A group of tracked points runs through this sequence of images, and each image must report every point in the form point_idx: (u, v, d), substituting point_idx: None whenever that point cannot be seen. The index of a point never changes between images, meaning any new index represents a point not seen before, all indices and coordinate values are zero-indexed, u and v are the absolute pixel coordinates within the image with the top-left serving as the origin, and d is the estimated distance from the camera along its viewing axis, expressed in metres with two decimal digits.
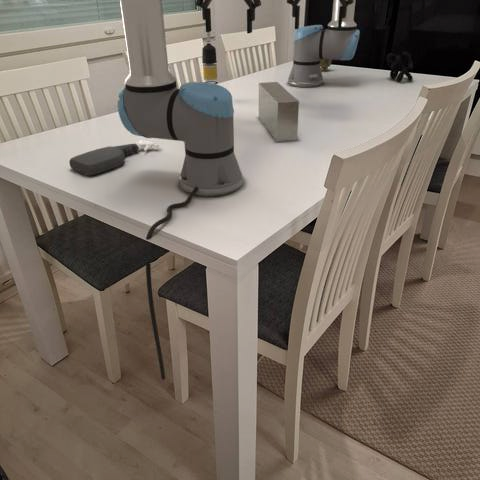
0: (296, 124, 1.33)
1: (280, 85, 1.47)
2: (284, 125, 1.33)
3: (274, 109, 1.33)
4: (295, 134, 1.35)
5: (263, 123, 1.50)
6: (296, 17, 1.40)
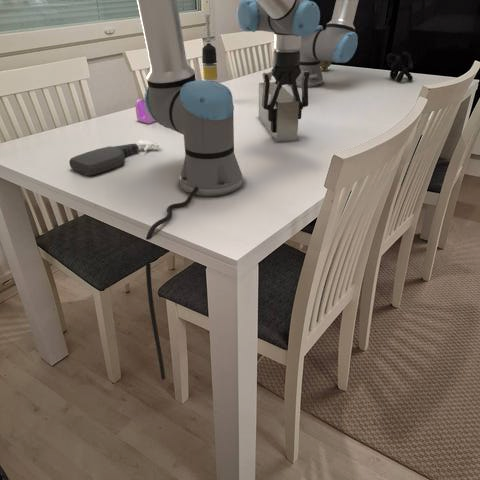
0: (296, 124, 1.33)
1: None
2: (284, 125, 1.33)
3: (274, 109, 1.33)
4: (295, 134, 1.35)
5: (263, 123, 1.50)
6: None
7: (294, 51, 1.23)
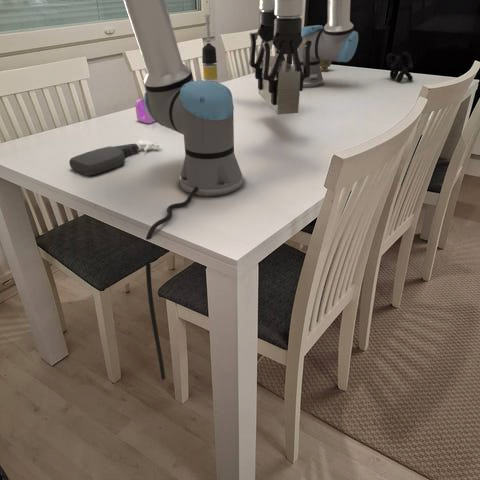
0: (297, 96, 1.29)
1: (281, 58, 1.42)
2: (285, 97, 1.28)
3: (275, 80, 1.29)
4: (296, 106, 1.30)
5: (263, 98, 1.45)
6: None
7: (295, 17, 1.18)
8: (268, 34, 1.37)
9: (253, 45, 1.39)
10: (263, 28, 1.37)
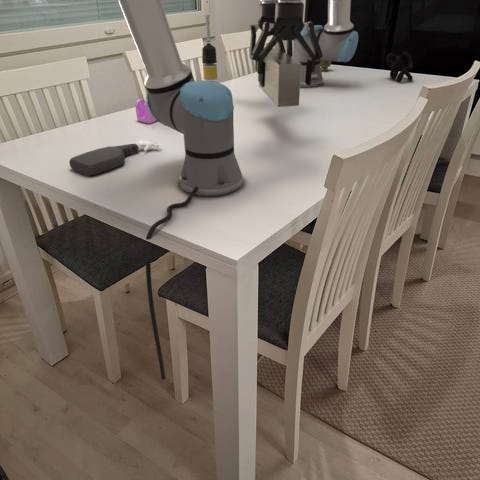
0: (298, 88, 1.28)
1: (281, 50, 1.41)
2: (285, 89, 1.27)
3: (275, 72, 1.28)
4: (297, 99, 1.29)
5: None
6: None
7: (298, 2, 1.15)
8: None
9: (253, 37, 1.38)
10: (263, 20, 1.36)
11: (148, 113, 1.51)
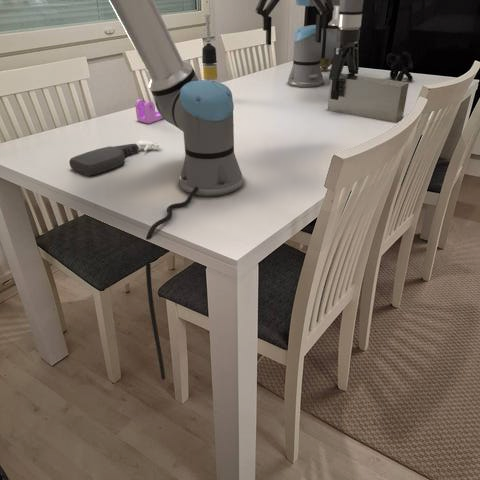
0: (404, 103, 1.50)
1: (352, 75, 1.58)
2: (400, 106, 1.48)
3: (389, 93, 1.46)
4: (403, 112, 1.52)
5: (346, 113, 1.59)
6: None
7: None
8: (350, 49, 1.50)
9: (340, 59, 1.48)
10: (346, 45, 1.49)
11: (148, 113, 1.51)
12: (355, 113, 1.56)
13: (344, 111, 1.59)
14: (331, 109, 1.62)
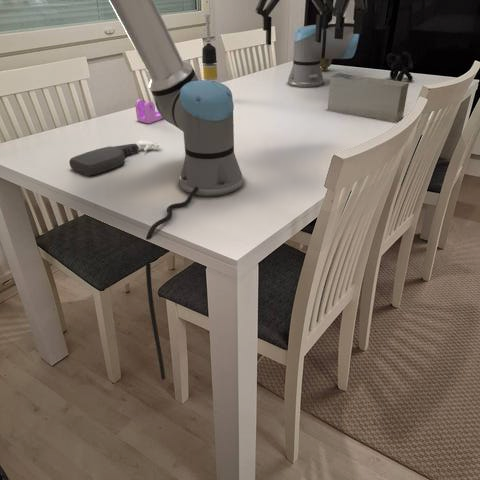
0: (404, 103, 1.50)
1: (352, 75, 1.58)
2: (400, 106, 1.48)
3: (389, 93, 1.46)
4: (403, 112, 1.52)
5: (346, 113, 1.59)
6: None
7: None
8: None
9: None
10: None
11: (148, 113, 1.51)
12: (355, 113, 1.56)
13: (344, 111, 1.59)
14: (331, 109, 1.62)
